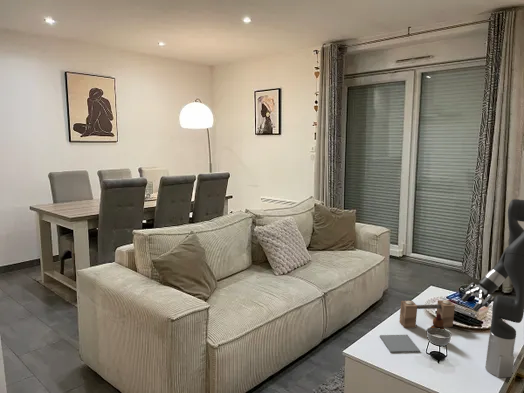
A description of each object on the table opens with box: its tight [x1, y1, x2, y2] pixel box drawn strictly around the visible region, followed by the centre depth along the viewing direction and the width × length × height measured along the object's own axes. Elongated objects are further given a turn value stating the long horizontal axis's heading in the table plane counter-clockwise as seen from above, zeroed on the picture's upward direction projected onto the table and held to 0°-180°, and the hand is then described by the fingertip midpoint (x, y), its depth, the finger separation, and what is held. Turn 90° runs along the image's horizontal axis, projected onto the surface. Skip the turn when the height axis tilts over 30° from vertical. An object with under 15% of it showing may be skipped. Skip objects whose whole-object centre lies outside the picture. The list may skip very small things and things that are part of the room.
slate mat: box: [379, 334, 421, 354], centre depth 186 cm, size 14×14×1 cm
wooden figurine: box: [429, 311, 446, 331], centre depth 189 cm, size 7×6×15 cm
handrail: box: [398, 299, 456, 329], centre depth 204 cm, size 6×26×13 cm, turn 94°
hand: (468, 305), depth 190 cm, fingers open, 8 cm apart
